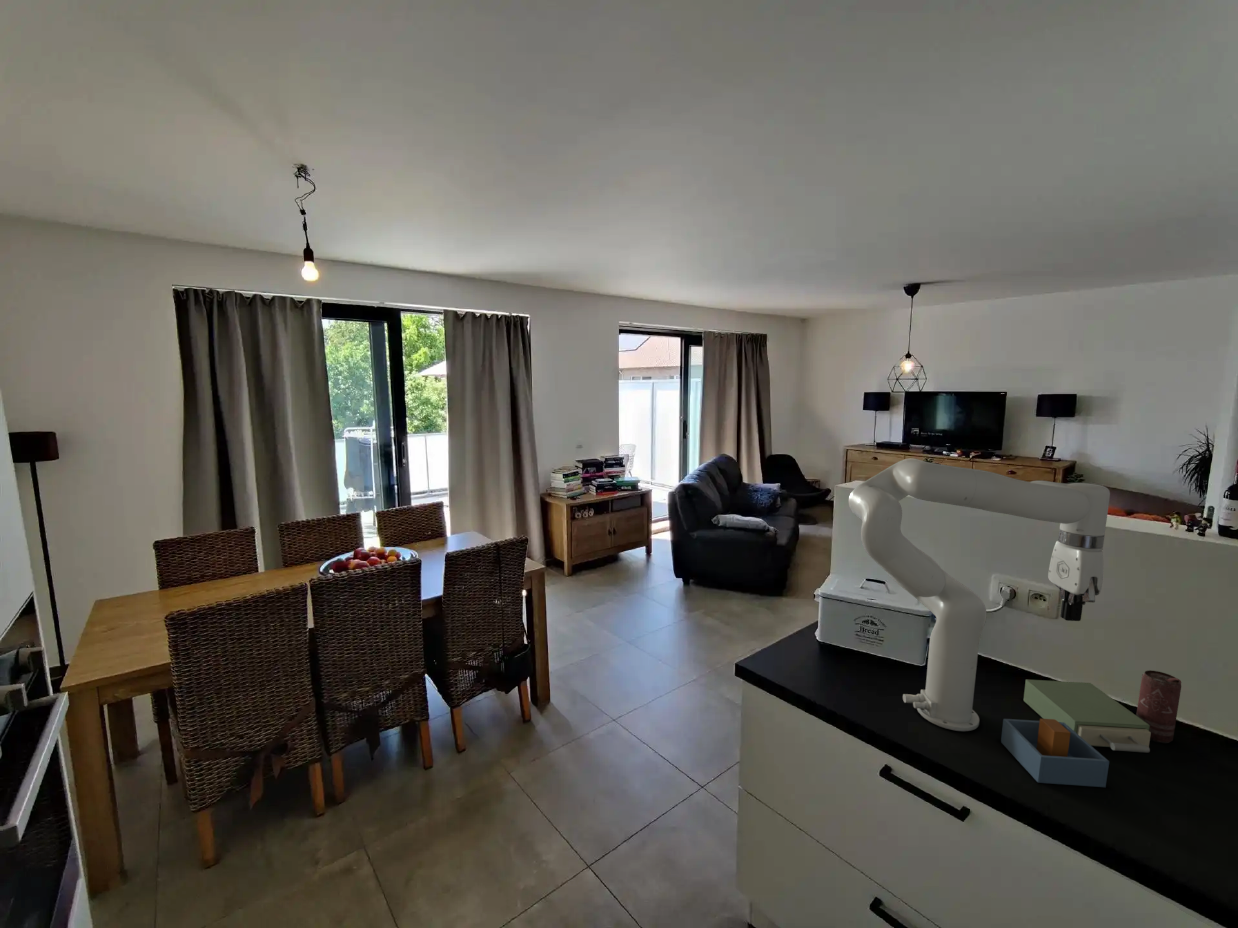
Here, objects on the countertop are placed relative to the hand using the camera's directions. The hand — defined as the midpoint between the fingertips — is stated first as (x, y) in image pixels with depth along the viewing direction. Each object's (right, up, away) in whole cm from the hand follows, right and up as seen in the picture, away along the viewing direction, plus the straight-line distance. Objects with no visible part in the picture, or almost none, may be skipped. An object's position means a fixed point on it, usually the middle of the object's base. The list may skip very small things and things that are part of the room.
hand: (1070, 619), depth 120 cm
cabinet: (+5, -25, +3) cm, 26 cm away
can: (+18, -26, -1) cm, 31 cm away
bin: (-12, -27, -10) cm, 31 cm away
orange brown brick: (-12, -26, -10) cm, 31 cm away
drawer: (+5, -24, -1) cm, 25 cm away
